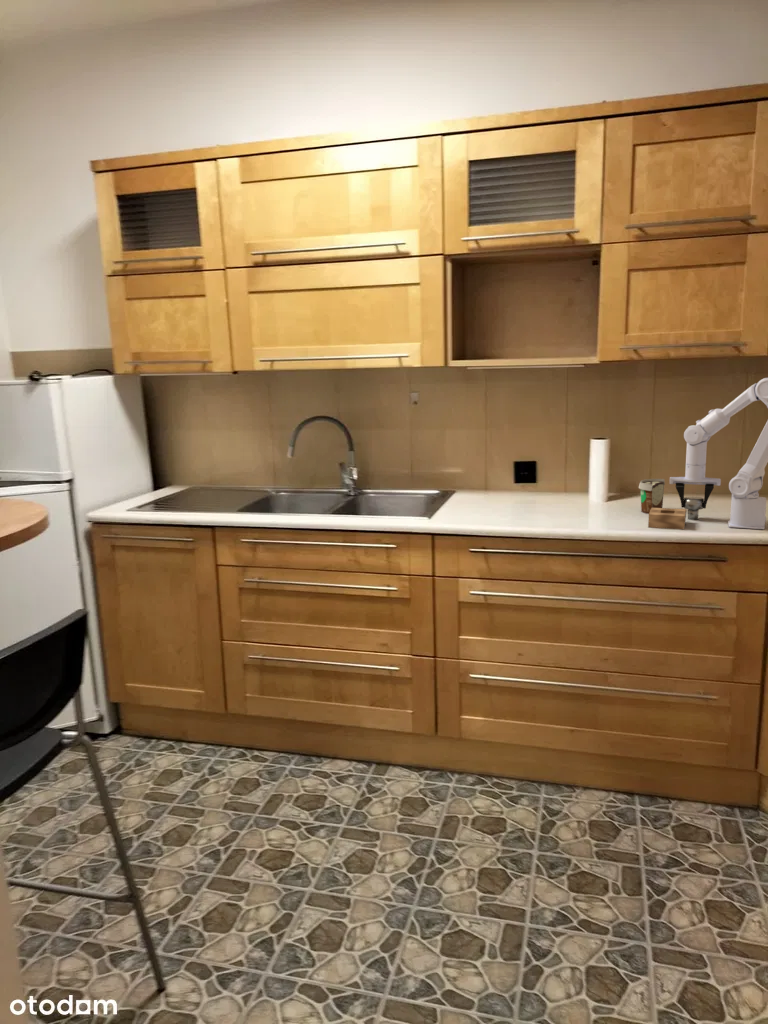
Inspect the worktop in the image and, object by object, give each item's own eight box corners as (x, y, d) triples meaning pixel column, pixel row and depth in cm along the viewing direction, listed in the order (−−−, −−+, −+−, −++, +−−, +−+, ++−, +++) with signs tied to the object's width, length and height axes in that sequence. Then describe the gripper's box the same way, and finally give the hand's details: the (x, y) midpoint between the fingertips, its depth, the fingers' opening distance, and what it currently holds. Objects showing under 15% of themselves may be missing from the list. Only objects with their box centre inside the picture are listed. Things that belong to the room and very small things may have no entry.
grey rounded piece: (702, 517, 233) (703, 497, 231) (702, 521, 228) (703, 500, 226) (683, 516, 235) (684, 496, 233) (682, 520, 230) (683, 499, 228)
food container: (645, 506, 251) (646, 477, 249) (663, 508, 248) (665, 478, 245) (631, 513, 242) (632, 483, 240) (650, 515, 238) (651, 484, 236)
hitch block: (685, 521, 228) (686, 509, 227) (683, 529, 219) (684, 516, 218) (650, 520, 232) (651, 507, 231) (648, 527, 223) (648, 514, 222)
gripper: (721, 462, 228) (719, 505, 231) (671, 461, 234) (669, 503, 237) (721, 466, 222) (719, 510, 225) (669, 465, 228) (668, 508, 231)
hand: (693, 507), depth 230 cm, fingers closed on grey rounded piece, 6 cm apart
